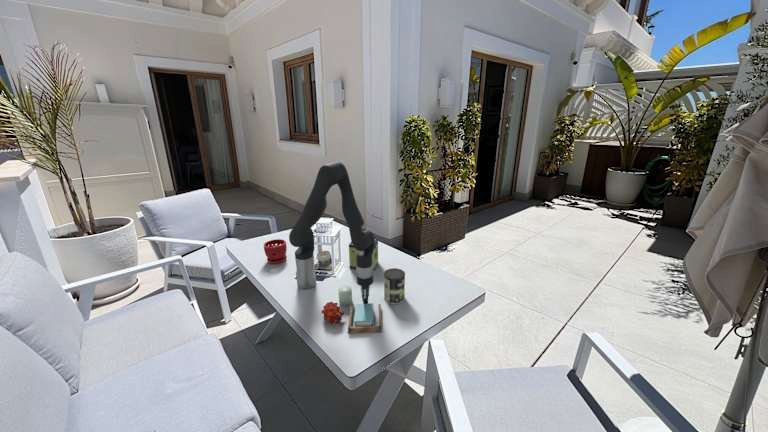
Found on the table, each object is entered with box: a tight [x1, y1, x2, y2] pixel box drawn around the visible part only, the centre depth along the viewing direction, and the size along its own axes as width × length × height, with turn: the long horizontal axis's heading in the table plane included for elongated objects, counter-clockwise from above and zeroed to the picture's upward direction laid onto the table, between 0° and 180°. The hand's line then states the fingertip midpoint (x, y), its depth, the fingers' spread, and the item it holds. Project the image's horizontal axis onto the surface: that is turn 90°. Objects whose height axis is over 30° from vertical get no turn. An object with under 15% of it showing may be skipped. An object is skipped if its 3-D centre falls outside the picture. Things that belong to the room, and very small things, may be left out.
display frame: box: [347, 303, 382, 334], centre depth 133 cm, size 14×16×2 cm
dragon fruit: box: [321, 301, 345, 325], centre depth 133 cm, size 8×8×12 cm
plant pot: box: [263, 238, 288, 264], centre depth 185 cm, size 13×13×12 cm
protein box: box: [348, 238, 379, 272], centre depth 178 cm, size 10×16×16 cm
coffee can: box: [383, 268, 406, 305], centre depth 146 cm, size 10×10×14 cm
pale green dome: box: [337, 285, 353, 307], centre depth 145 cm, size 6×6×7 cm
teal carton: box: [353, 302, 374, 327], centre depth 133 cm, size 8×12×4 cm, turn 2°
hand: (365, 305), depth 141 cm, fingers closed
